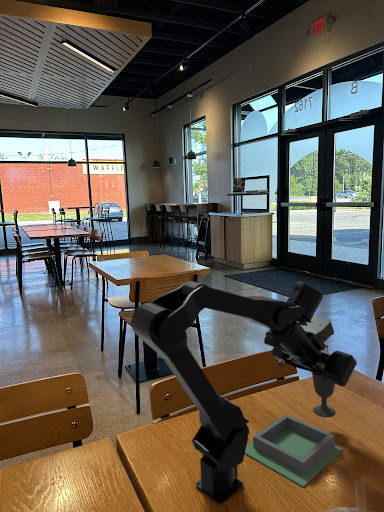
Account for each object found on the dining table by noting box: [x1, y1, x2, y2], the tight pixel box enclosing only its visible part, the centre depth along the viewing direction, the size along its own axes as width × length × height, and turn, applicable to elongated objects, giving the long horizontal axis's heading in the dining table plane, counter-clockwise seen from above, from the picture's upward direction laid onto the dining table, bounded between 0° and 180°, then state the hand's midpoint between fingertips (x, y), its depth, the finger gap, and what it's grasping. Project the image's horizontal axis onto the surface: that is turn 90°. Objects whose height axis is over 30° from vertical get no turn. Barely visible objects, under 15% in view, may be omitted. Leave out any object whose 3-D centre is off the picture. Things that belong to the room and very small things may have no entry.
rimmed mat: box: [245, 413, 344, 488], centre depth 79 cm, size 15×15×3 cm
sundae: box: [309, 345, 337, 418], centre depth 85 cm, size 7×7×15 cm
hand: (328, 375), depth 86 cm, fingers closed on sundae, 6 cm apart
